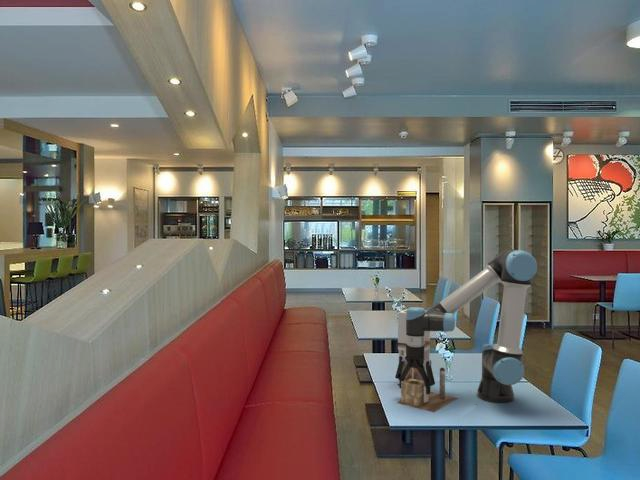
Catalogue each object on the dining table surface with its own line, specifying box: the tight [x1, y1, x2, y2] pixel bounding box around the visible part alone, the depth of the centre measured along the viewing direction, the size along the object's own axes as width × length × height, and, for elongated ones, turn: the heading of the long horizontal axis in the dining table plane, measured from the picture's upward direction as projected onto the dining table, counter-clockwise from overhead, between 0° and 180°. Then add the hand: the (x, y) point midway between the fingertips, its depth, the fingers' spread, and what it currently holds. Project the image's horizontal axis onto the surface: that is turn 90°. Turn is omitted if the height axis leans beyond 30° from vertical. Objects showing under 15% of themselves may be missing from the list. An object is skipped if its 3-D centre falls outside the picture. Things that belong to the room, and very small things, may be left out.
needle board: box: [396, 367, 459, 413], centre depth 216 cm, size 17×22×15 cm
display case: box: [397, 308, 431, 387], centre depth 238 cm, size 11×11×35 cm
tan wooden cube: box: [400, 379, 426, 406], centre depth 214 cm, size 8×8×8 cm
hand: (414, 398), depth 214 cm, fingers open, 10 cm apart
